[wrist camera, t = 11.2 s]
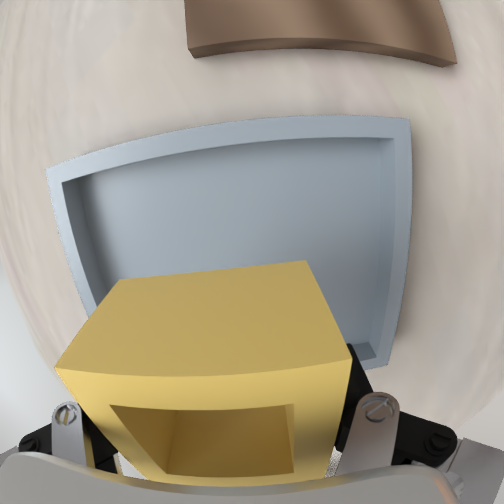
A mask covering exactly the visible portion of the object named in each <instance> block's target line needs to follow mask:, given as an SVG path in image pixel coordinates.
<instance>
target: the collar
mask: <svg viewBox="0 0 504 504" xmlns="http://www.w3.org/2000/svg"><path fill="white" fill-rule="evenodd" d="M351 364H352V356H351V354H350V352H349V350H348V347H347V345H346V343H345V341H344V339H343V336H342V334H341V332H340V330H339V328H338V326H337V323H336V321H335V319H334V317H333V315H332V313H331V311H330V308H329V306H328V304H327V302H326V300H325V298H324V296H323V294H322V292H321V290H320V288H319V285H318V283H317V281H316V279H315V277H314V275H313V273H312V271H311V269H310V267H309V265H308V263H307V261H306V260H302V261H293V262H285V263H276V264H267V265H258V266H249V267H240V268H230V269H221V270H211V271H202V272H192V273H182V274H172V275H162V276H151V277H141V278H130V279H119V281H118V282H117V283H116V284H115V285H114V287H113V288H112V289H111V290H110V292H109V293H108V294H107V295H106V297H105V298H104V299H103V300H102V302H101V303H100V304H99V306H98V307H97V308H96V309H95V311H94V312H93V313H92V315H91V316H90V317H89V319H88V320H87V321H86V323H85V324H84V325H83V327H82V328H81V329H80V331H79V332H78V334H77V335H76V336H75V338H74V339H73V340H72V342H71V343H70V345H69V346H68V348H67V349H66V350H65V352H64V353H63V355H62V356H61V358H60V359H59V361H58V362H57V364H56V365H55V367H54V368H55V370H56V372H57V373H58V375H59V376H60V378H61V379H62V381H63V382H64V384H65V385H66V387H67V388H68V390H69V391H70V392H71V394H72V395H73V397H74V398H75V399H76V401H77V402H78V404H79V405H80V406H81V408H82V409H83V410H84V411H85V413H86V414H87V415H88V417H89V418H90V419H91V420H92V421H93V423H94V424H95V425H96V426H97V428H98V429H99V430H100V431H101V432H102V433H103V435H104V436H105V437H106V438H107V439H108V440H109V441H110V442H111V443H112V445H113V446H114V447H115V448H116V449H117V450H118V451H119V452H120V453H121V454H122V455H123V456H124V457H125V458H126V459H127V460H128V461H129V462H130V463H131V464H132V465H133V466H134V467H135V468H136V469H137V470H138V471H139V472H140V473H141V474H143V475H144V476H145V477H146V478H147V479H148V480H150V481H156V482H164V483H172V484H182V485H195V486H218V487H240V486H263V485H275V484H285V483H294V482H301V481H308V480H314V479H320V478H325V475H326V472H327V468H328V465H329V462H330V458H331V455H332V451H333V447H334V444H335V440H336V436H337V432H338V428H339V424H340V420H341V415H342V411H343V406H344V402H345V397H346V392H347V387H348V381H349V376H350V370H351Z"/></svg>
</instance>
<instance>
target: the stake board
mask: <svg viewBox="0 0 504 504" xmlns="http://www.w3.org/2000/svg"><path fill="white" fill-rule="evenodd" d="M184 3H185V18H186V32H187V45H188V50H189V51H190V53H191V54H192V56H193V57H194V58H199V57H205V56H211V55H217V54H224V53H232V52H241V51H252V50H265V49H289V48H312V49H335V50H349V51H359V52H367V53H375V54H382V55H388V56H394V57H400V58H405V59H410V60H414V61H419V62H423V63H427V64H431V65H435V66H439V67H445V66H449V65H453V64H457V60H456V55H455V51H454V47H453V43H452V40H451V36H450V32H449V29H448V26H447V23H446V19H445V16H444V13H443V11H442V8H441V5H440V2H439V0H184Z"/></svg>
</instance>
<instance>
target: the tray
mask: <svg viewBox="0 0 504 504" xmlns="http://www.w3.org/2000/svg"><path fill="white" fill-rule="evenodd" d="M46 174H47V180H48V186H49V191H50V196H51V201H52V206H53V210H54V215H55V219H56V223H57V227H58V231H59V234H60V238H61V242H62V245H63V248H64V252H65V255H66V258H67V261H68V265H69V268H70V271H71V273H72V276H73V279H74V282H75V285H76V288H77V290H78V293H79V295H80V298H81V301H82V303H83V306H84V308H85V310H86V313H87V315H88V318H89V317H90V316H91V315H92V313H93V312H94V311H95V309H96V308H97V307H98V306H99V304H100V303H101V302H102V300H103V299H104V298H105V297H106V295H107V294H108V293H109V292H110V290H111V289H112V288H113V287H114V285H115V284H116V283H117V282H118V281H119V279H130V278H141V277H151V276H162V275H172V274H182V273H192V272H202V271H211V270H221V269H230V268H240V267H249V266H258V265H267V264H276V263H285V262H293V261H302V260H306V261H307V263H308V265H309V267H310V269H311V271H312V273H313V275H314V277H315V279H316V281H317V283H318V285H319V288H320V290H321V292H322V294H323V296H324V298H325V300H326V302H327V304H328V306H329V308H330V311H331V313H332V315H333V317H334V319H335V321H336V323H337V326H338V328H339V330H340V332H341V334H342V336H343V339H344V341H345V343H346V344H347V343H350V344H351V345H352V346H353V348H354V350H355V352H356V354H357V357H358V359H359V361H360V363H361V365H362V367H363V370H368V369H373V368H377V367H381V366H385V365H388V361H389V357H390V353H391V349H392V345H393V341H394V337H395V332H396V328H397V323H398V318H399V313H400V308H401V302H402V296H403V290H404V284H405V277H406V269H407V261H408V252H409V242H410V230H411V213H412V148H411V131H410V119H405V118H393V117H379V116H357V115H311V116H288V117H273V118H261V119H251V120H242V121H233V122H226V123H218V124H212V125H205V126H199V127H193V128H188V129H182V130H177V131H172V132H167V133H163V134H158V135H154V136H149V137H145V138H141V139H137V140H133V141H129V142H125V143H122V144H118V145H114V146H111V147H108V148H104V149H101V150H98V151H94V152H91V153H88V154H85V155H82V156H79V157H76V158H73V159H70V160H68V161H65V162H62V163H59V164H57V165H54V166H52V167H49V168H46Z"/></svg>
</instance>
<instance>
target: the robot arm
mask: <svg viewBox="0 0 504 504" xmlns="http://www.w3.org/2000/svg"><path fill="white" fill-rule="evenodd" d="M346 345H347V347H348V350H349V352H350V354H351V356H352V364H351V370H350V376H349V381H348V387H347V392H346V397H345V402H344V406H343V411H342V415H341V420H340V424H339V428H338V432H337V436H336V440H335V444H334V446H335V447H336V450H337V451H339V452H341V453H342V455H341V458H340V461H339V464H338V467H337V470H336V472H335V475H334V476H332V477H327V478H321V479H315V480H309V481H301V482H294V483H285V484H275V485H263V486H240V487H218V486H195V485H182V484H172V483H164V482H156V481H150V480H144V479H138V478H133V477H127V476H123V473H122V469H121V465H120V461H119V458H118V450H117V449H116V448H115V447H114V446H113V445H112V443H111V442H110V441H109V440H108V439H107V438H106V437H105V436H104V435H103V433H102V432H101V431H100V430H99V429H98V428H97V426H96V425H95V424H94V423H93V421H92V420H91V419H90V418H89V417H88V415H87V414H86V413H85V411H84V410H83V409H82V408H81V406H80V405H79V404H76V403H75V402H65V403H62V404H60V405H59V406H58V407H57V408H56V409H55V410H54V412H53V415H52V423H50V424H49V425H46V426H44V427H42V428H40V429H38V430H36V431H34V432H32V433H30V434H28V435H26V436H24V437H23V438H22V439H21V441H20V443H19V447H17V446H15V447H14V448H12V449H10V450H8V451H6V452H4V453H2V454H0V504H493V502H494V500H495V498H496V495H497V493H498V490H499V488H500V485H501V483H502V480H503V477H504V451H502V450H500V449H497V448H493V447H490V446H487V445H484V444H481V443H478V442H475V441H472V440H469V439H467V438H463V439H462V440H461V439H458V438H457V436H456V434H455V432H454V431H453V430H452V429H451V428H449V427H447V426H444V425H441V424H438V423H434V422H431V421H428V420H425V419H422V418H419V417H416V416H413V415H410V414H407V413H404V412H402V411H400V408H399V404H398V402H397V400H396V399H395V398H394V397H393V396H391V395H389V394H387V393H383V392H373V390H372V387H371V385H370V383H369V381H368V378H367V376H366V374H365V372H364V370H363V367H362V365H361V363H360V361H359V359H358V357H357V354H356V352H355V350H354V348H353V346H352V345H351V344H350V343H347V344H346Z"/></svg>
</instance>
